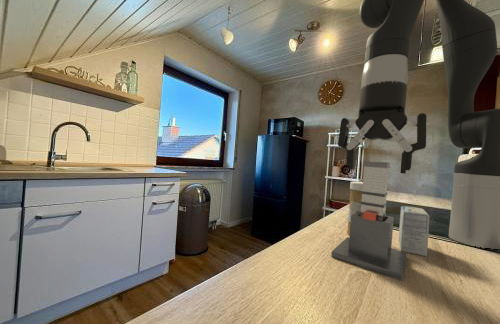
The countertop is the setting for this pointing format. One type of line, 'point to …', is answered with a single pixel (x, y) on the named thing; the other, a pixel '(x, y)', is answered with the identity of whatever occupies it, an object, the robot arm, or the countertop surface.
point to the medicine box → (413, 230)
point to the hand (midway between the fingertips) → (375, 171)
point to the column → (375, 188)
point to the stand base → (372, 245)
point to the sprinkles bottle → (354, 200)
